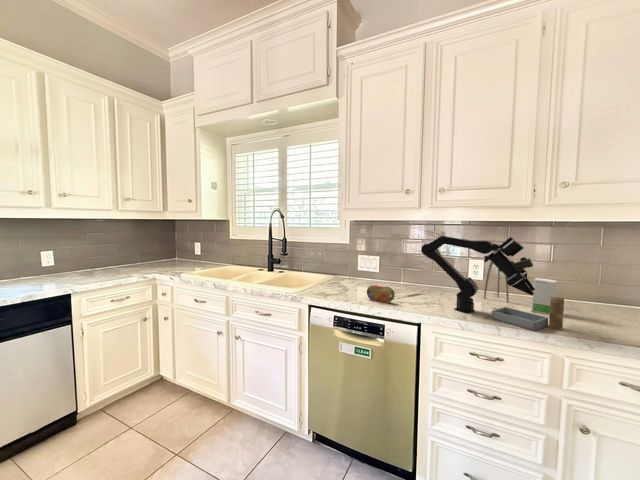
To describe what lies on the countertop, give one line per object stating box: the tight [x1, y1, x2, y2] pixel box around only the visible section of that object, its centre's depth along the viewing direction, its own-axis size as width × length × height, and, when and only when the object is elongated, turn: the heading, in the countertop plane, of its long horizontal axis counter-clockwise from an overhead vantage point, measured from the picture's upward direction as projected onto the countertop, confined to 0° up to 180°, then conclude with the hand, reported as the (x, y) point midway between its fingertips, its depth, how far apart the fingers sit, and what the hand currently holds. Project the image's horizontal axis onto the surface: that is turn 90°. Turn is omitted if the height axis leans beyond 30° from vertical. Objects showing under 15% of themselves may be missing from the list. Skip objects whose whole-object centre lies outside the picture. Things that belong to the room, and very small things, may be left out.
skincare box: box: [531, 277, 558, 316], centre depth 128 cm, size 8×7×16 cm
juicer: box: [483, 248, 509, 303], centre depth 147 cm, size 10×11×30 cm
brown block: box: [548, 296, 565, 331], centre depth 109 cm, size 4×4×12 cm
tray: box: [490, 306, 549, 332], centre depth 116 cm, size 16×11×4 cm
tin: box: [366, 284, 396, 304], centre depth 146 cm, size 15×3×8 cm, turn 54°
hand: (533, 292), depth 114 cm, fingers open, 9 cm apart
